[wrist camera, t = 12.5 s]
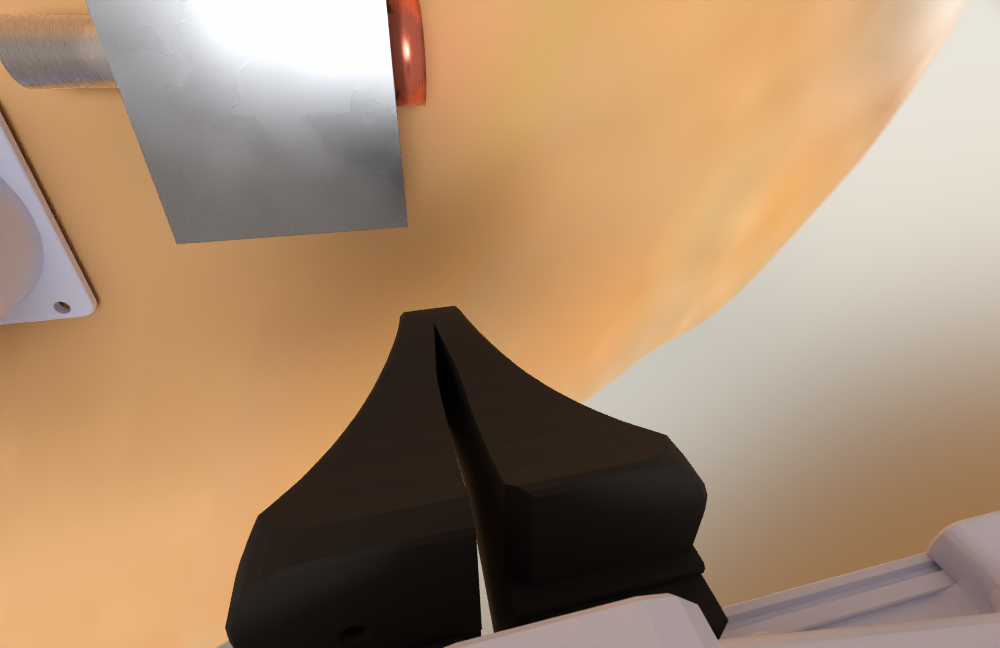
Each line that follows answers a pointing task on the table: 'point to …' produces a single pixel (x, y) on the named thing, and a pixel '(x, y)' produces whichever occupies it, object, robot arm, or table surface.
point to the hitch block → (260, 112)
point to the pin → (83, 64)
